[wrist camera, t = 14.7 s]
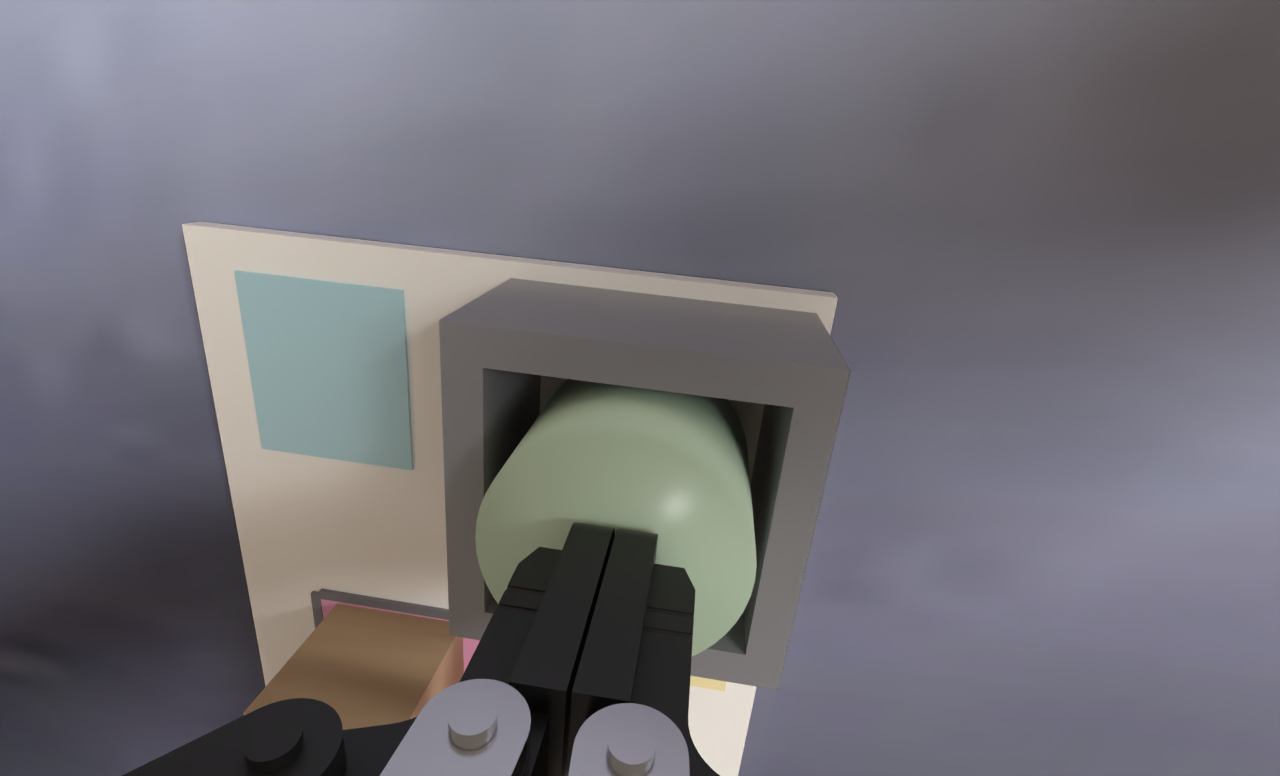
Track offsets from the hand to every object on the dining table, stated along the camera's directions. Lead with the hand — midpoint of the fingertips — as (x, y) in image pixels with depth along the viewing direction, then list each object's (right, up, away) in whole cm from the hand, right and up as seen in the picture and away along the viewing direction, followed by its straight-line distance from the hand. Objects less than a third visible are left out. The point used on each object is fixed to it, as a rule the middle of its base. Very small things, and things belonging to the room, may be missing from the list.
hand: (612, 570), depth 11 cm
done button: (0, +2, +4) cm, 4 cm away
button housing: (+1, +2, +5) cm, 5 cm away
